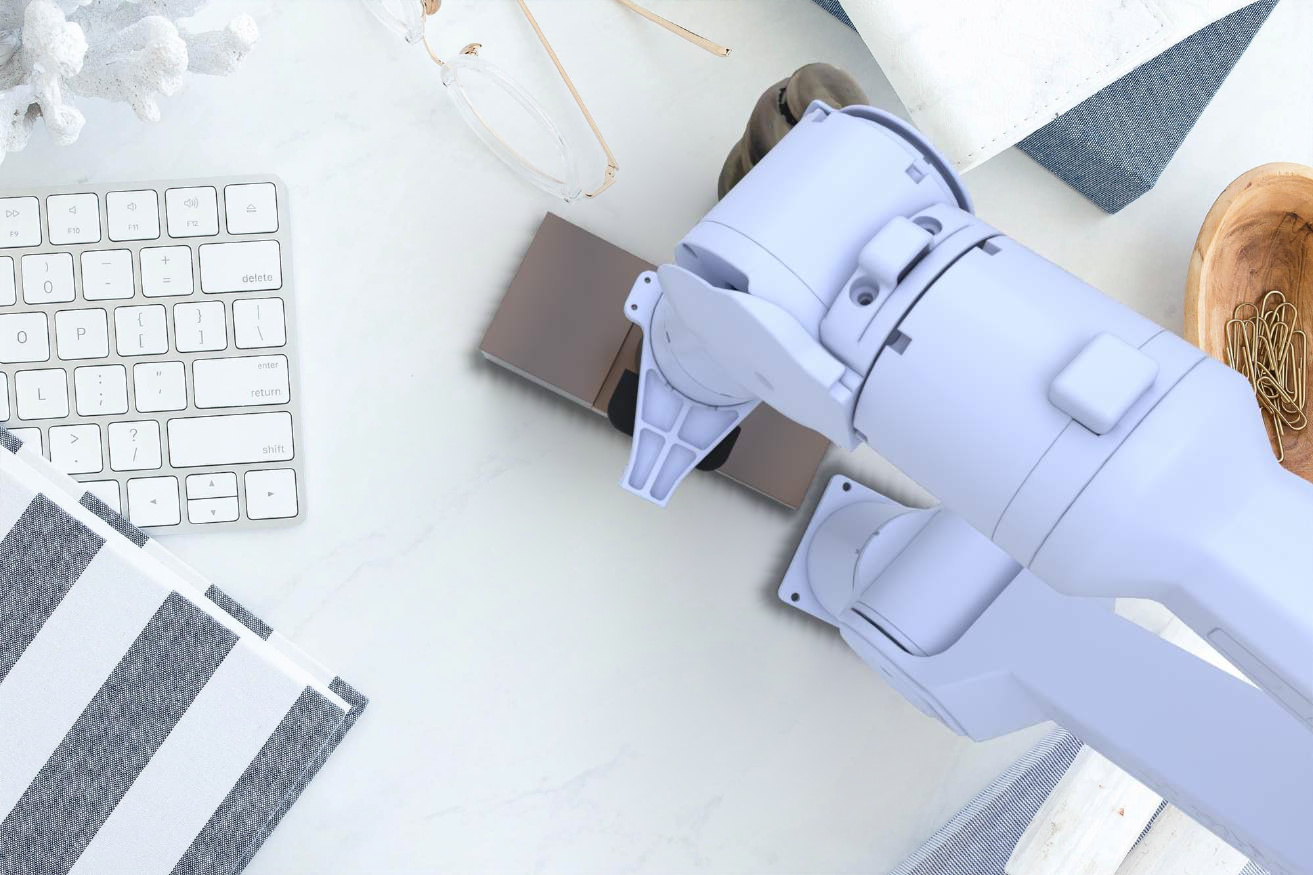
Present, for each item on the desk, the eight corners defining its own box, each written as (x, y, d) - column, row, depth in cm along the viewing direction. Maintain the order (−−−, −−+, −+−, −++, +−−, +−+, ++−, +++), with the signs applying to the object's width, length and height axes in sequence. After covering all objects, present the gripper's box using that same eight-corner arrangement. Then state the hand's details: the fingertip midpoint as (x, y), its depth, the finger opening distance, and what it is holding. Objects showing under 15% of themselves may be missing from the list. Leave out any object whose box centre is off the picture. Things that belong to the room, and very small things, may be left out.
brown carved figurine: (738, 145, 53) (809, 23, 38) (813, 202, 54) (913, 103, 39) (682, 223, 53) (733, 130, 38) (759, 279, 53) (839, 209, 38)
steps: (849, 385, 54) (876, 378, 49) (791, 508, 53) (813, 513, 49) (548, 232, 52) (547, 210, 47) (485, 358, 51) (478, 348, 47)
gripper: (731, 84, 32) (679, 194, 46) (550, 453, 31) (551, 454, 45) (905, 177, 33) (803, 258, 46) (732, 541, 32) (679, 516, 45)
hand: (688, 359), depth 46 cm, fingers closed on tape, 5 cm apart
